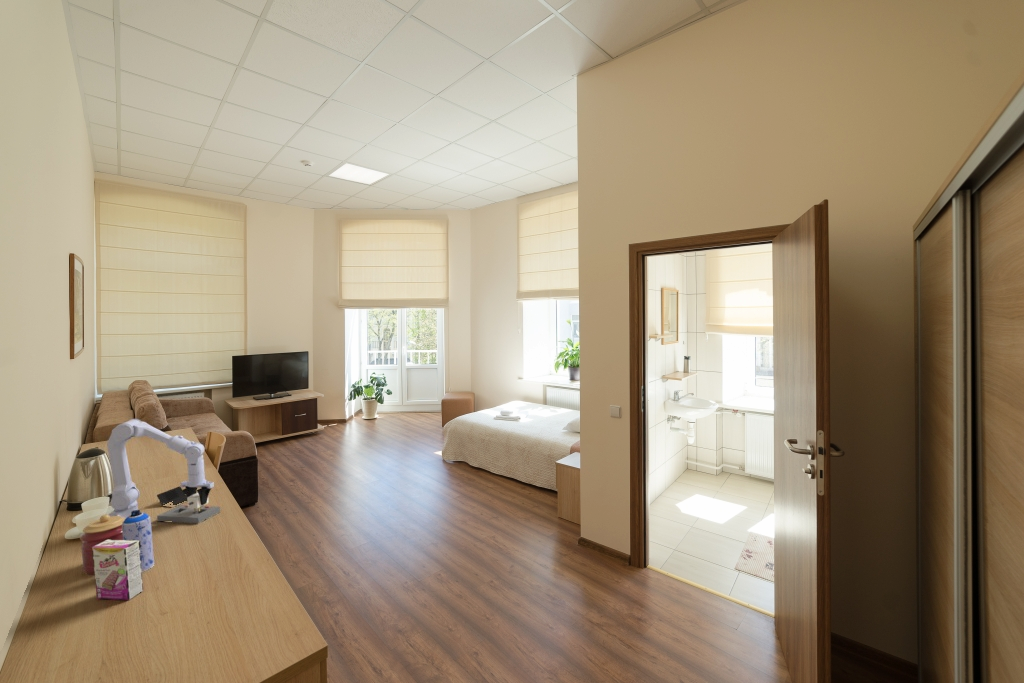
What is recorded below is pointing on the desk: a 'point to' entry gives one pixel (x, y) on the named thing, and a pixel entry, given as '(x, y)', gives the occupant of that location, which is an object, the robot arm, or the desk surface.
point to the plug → (195, 502)
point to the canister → (99, 537)
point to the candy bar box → (117, 569)
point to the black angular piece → (172, 496)
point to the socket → (188, 514)
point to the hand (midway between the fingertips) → (198, 503)
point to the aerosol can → (140, 536)
